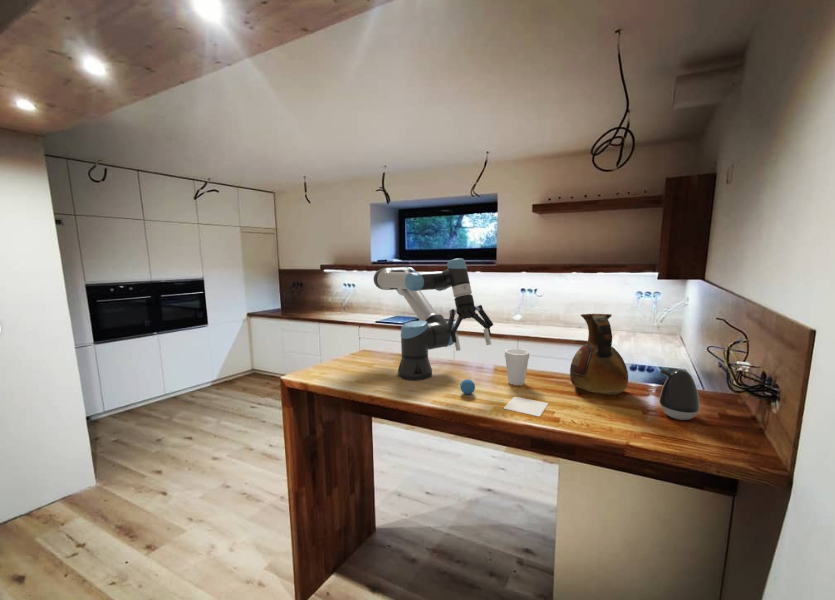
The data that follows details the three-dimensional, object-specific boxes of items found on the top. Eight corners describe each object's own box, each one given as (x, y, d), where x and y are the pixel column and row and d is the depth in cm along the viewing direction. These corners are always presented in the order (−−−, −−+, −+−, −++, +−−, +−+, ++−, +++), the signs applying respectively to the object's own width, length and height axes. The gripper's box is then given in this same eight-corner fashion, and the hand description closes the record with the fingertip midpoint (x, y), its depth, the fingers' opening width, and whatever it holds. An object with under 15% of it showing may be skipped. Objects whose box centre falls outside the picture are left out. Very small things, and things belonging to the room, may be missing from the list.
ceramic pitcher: (612, 382, 143) (616, 309, 140) (638, 402, 123) (643, 317, 120) (562, 381, 145) (565, 309, 142) (580, 400, 125) (583, 317, 122)
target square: (503, 408, 120) (503, 408, 120) (514, 396, 130) (514, 396, 130) (539, 417, 113) (539, 416, 113) (548, 403, 123) (548, 403, 123)
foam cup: (531, 386, 139) (532, 354, 138) (507, 387, 140) (508, 355, 138) (524, 378, 149) (525, 348, 147) (502, 378, 149) (502, 348, 148)
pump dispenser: (659, 406, 119) (662, 363, 118) (698, 415, 113) (702, 369, 111) (656, 417, 112) (659, 371, 110) (697, 427, 105) (702, 377, 103)
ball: (457, 394, 132) (457, 380, 132) (464, 390, 137) (464, 376, 136) (471, 397, 129) (471, 383, 129) (477, 392, 134) (477, 378, 133)
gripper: (438, 298, 137) (448, 352, 134) (494, 290, 145) (505, 341, 141) (431, 301, 144) (441, 353, 141) (485, 294, 152) (496, 343, 148)
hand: (473, 347), depth 141 cm, fingers open, 13 cm apart
